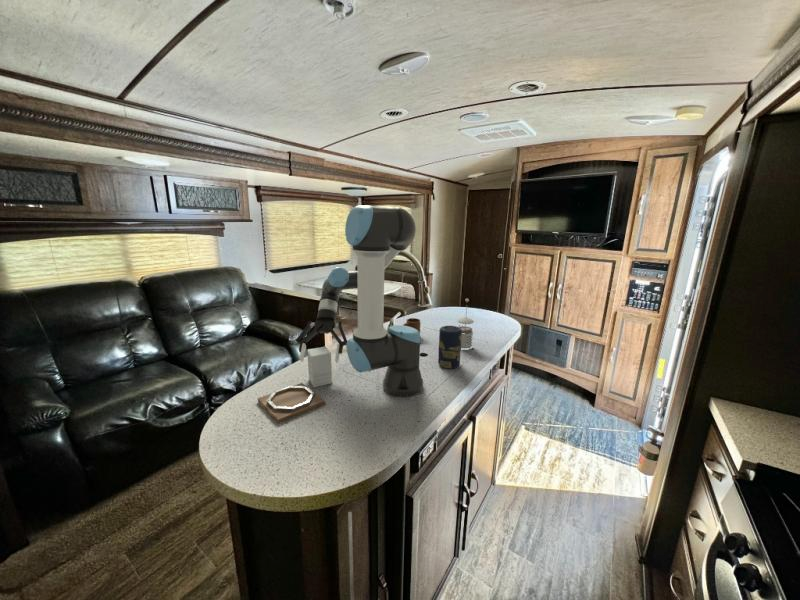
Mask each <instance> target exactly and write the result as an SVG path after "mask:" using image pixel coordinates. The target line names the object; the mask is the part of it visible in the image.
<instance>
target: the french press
mask: <svg viewBox="0 0 800 600" xmlns="http://www.w3.org/2000/svg"><path fill="white" fill-rule="evenodd" d="M465 302H470V299H469V298H465ZM465 307H466V310H465V314H467V312H468V311H467V310H468V306H465ZM474 322H475V321H474V319H472V318H470V317H467V316H465V317H460V318H458V319H457V323H459V325H458V326H457V327H459V328H460V329H461V330H462V339H461V348H470V347H471V346H473V342H472V341H473V335H474V332H473V328H472V327H470V326H466V325H471V324H474ZM460 324H463V325H464V326H463V325H462V326H461V325H460Z"/></svg>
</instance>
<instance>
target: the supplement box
mask: <svg viewBox="0 0 800 600" xmlns="http://www.w3.org/2000/svg"><path fill="white" fill-rule="evenodd" d="M306 351H307V369H308V370H307V371H308V380H309V382H310V384H311V385H312V387H313V388H317V387H321V386H322V387H323V386H326V385H330V384H333V371H332V369H333V368H332V353H331V352H330V350H329V349H328V348H327V347H326V346H321V347H315V348H308V349H306Z"/></svg>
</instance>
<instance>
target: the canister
mask: <svg viewBox="0 0 800 600" xmlns="http://www.w3.org/2000/svg"><path fill="white" fill-rule="evenodd" d="M459 327H460V326H459ZM459 327H458V326H455V325H444V326H443V325H442V326H441V327H440V328H439V334H438V335H439V336H438V359H437V363H438V365H439V366H441V367H443V368H445V369H456V368H458V367H459V366H460V364H461V353H462V352H461V351H462V350H461V339H462V334H463V333H462V330H461V329H460V328H459ZM455 367H456V368H455Z"/></svg>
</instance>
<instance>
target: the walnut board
mask: <svg viewBox="0 0 800 600" xmlns="http://www.w3.org/2000/svg"><path fill="white" fill-rule="evenodd" d="M293 386H306V387H307V388H309V387H308V386H307V385H305V384H304V383H303V382H300V383H298V384H295V385H293ZM309 389H310V390H311V391H313V390H312V389H311V388H309ZM313 392H314V397H313V399H312V401H311V403H310V405H307V406H305V407H302V408H300V409H298V410H295V411H293V412H292V411H274V410H273V409H272V408H271V407H270V406H269V405H268V404H267V400H268V398H269V397H270V396H271V394H272V393H269V394H266V395H263V396H260V397H257V403H258V402H259V403H260V404H261V405H262V406H263V407H262V406H261V405H260V404H259V403H258V404H259V405H260V406H261V407H262V408H263V409H264V410H265V411H266V412H267V413H268V415H269V416H270V417H271V416H272V417H273V418H274V419H275V420H276V421H277V422H276V421H275V420H274V419H273V418H272V419H273V420H274V421H275V422H276V423H277V424H278V423H279V424H281V423H280V422H282V423H284V422H286V421H289V420H291V419H293V418H295V417H298V416H302V415H304V414H305V413H308V412H310V411H312V410H314V409H317V408H319V407H322V406H324V405H325V404H326V400H325V399H324V398H322V396H320V395H319V394H317V393H316V392H315V391H313ZM309 396H310V395H309V394H308V393H307V392H306V391H304V390H289V391H286V392H283V393H280V394H278V395H276V396H275V397H274V399H273V400H272V402H273V403H274V404H275V405H276V406H280V407H293V406H296V405H298V404H301V403H303V402H306V401H307V400H308V398H309ZM288 419H289V420H288ZM283 421H284V422H283Z"/></svg>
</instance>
